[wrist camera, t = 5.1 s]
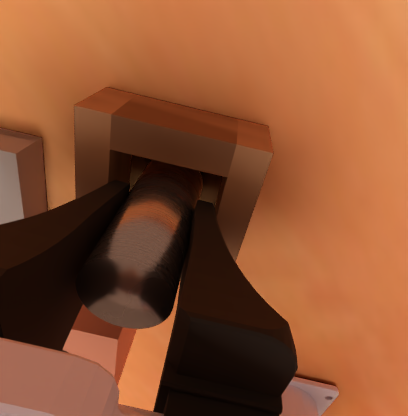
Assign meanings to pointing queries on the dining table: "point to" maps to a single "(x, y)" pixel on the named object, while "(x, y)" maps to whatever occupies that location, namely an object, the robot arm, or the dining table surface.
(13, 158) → the tray
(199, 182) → the cylinder
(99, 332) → the block
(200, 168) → the brown square frame
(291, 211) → the dining table surface
